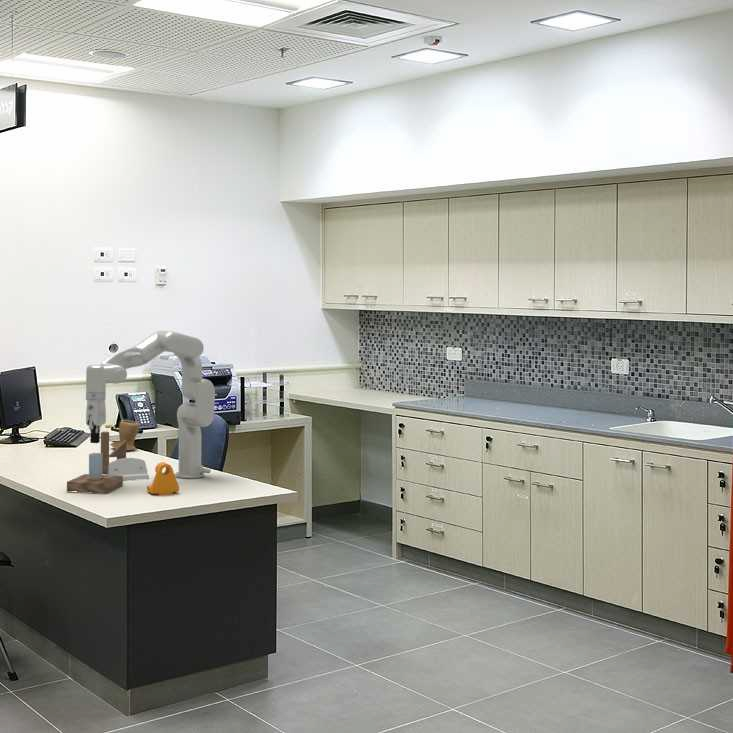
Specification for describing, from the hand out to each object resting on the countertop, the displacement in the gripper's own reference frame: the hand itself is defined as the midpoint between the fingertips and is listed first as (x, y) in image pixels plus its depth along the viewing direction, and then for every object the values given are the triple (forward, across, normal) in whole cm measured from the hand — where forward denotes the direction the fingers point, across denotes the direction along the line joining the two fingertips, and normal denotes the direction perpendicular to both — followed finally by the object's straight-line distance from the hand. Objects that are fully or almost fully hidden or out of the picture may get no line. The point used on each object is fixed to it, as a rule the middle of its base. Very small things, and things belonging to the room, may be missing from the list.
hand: (95, 442), depth 401 cm
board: (+18, 0, 0) cm, 18 cm away
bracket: (+18, -2, -28) cm, 34 cm away
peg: (+18, 0, 0) cm, 18 cm away
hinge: (+18, +24, -5) cm, 31 cm away
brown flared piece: (+18, +101, +23) cm, 105 cm away
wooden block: (+18, +36, +6) cm, 41 cm away
